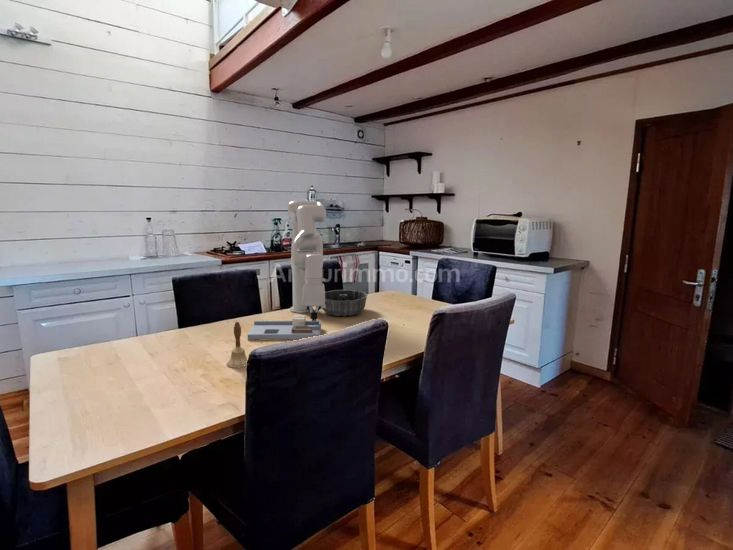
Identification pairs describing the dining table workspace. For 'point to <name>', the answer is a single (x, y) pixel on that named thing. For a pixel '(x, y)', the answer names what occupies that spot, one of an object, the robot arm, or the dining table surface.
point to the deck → (282, 330)
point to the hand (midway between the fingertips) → (314, 320)
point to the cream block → (299, 320)
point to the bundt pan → (344, 302)
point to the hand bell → (237, 350)
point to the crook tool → (301, 330)
